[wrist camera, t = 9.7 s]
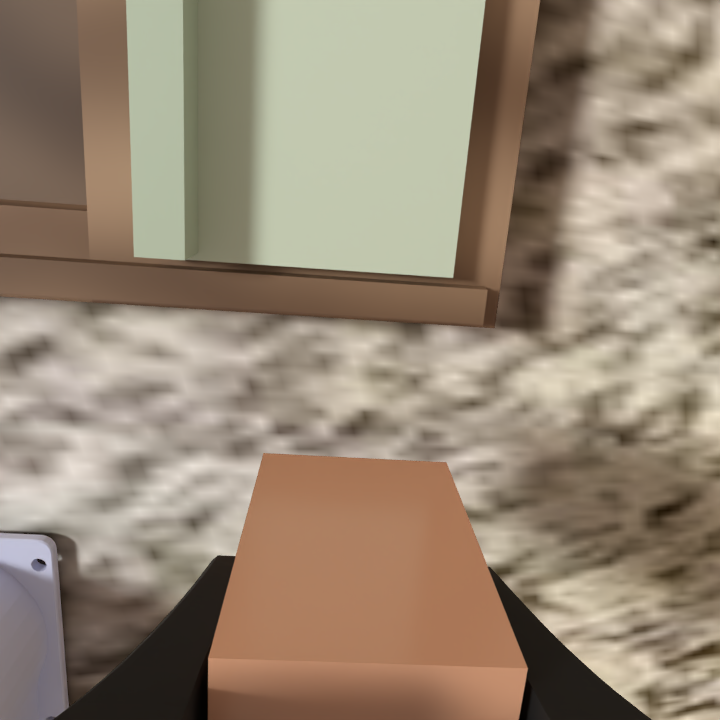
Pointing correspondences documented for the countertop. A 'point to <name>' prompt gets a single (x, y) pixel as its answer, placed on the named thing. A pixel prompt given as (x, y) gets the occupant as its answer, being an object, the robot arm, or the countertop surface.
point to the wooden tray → (207, 278)
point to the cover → (302, 131)
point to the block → (361, 601)
